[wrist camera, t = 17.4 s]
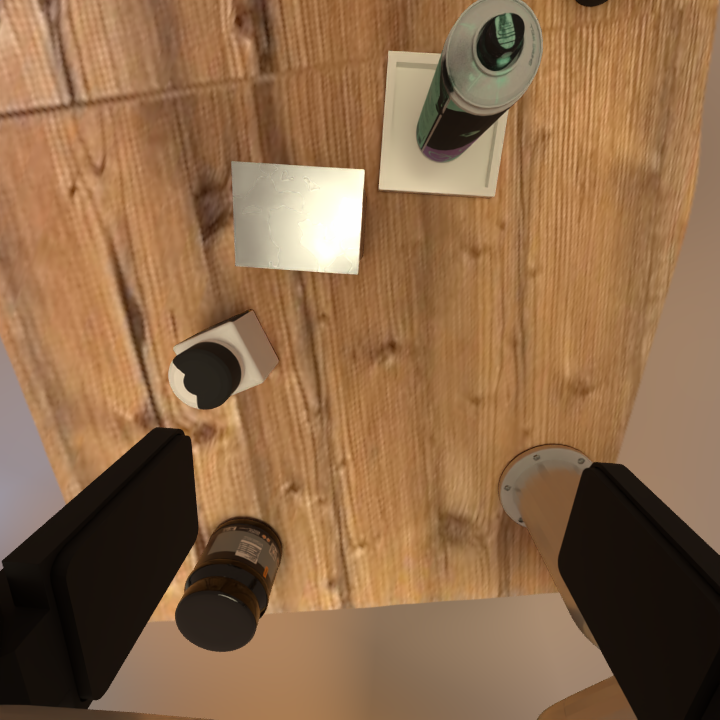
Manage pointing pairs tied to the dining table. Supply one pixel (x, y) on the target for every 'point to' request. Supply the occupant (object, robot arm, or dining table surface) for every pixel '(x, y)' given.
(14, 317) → the dining table surface
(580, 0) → the drinking cup
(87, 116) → the dining table surface
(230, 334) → the medicine bottle
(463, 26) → the spray can
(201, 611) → the supplement container
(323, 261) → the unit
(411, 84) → the dish
